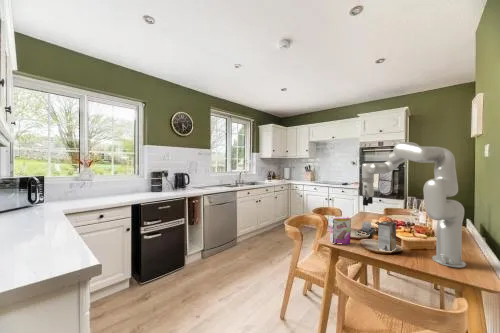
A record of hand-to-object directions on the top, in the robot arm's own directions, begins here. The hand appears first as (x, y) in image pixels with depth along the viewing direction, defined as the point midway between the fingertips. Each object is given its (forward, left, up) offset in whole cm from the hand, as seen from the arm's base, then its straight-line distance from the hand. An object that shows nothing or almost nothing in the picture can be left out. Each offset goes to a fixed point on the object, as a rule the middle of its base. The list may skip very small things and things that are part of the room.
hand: (367, 204), depth 160 cm
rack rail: (0, +1, -20) cm, 20 cm away
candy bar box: (-34, +5, -21) cm, 40 cm away
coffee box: (-27, -19, -21) cm, 39 cm away
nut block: (0, +1, -21) cm, 21 cm away
